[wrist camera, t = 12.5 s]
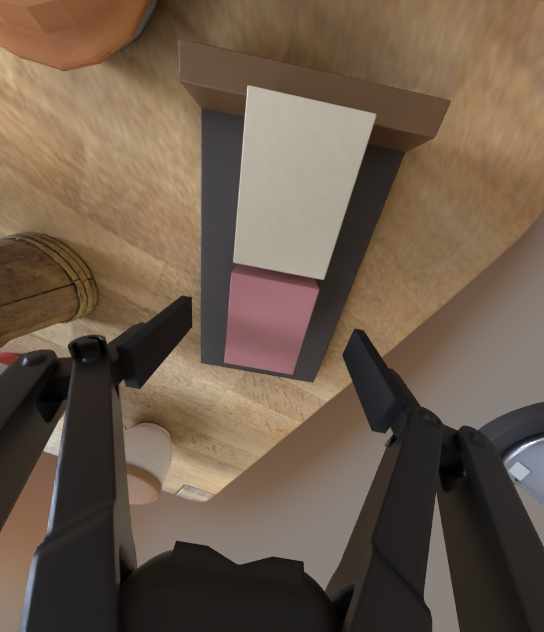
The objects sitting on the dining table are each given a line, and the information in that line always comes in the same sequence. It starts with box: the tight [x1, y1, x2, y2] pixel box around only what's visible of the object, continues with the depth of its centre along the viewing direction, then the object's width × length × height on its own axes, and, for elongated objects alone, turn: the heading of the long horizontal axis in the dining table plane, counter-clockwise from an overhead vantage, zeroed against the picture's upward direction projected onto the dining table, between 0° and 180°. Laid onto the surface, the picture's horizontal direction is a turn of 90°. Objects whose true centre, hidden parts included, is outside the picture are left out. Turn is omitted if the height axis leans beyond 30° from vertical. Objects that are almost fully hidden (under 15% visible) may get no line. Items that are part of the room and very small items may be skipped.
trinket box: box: [123, 423, 173, 504], centre depth 30 cm, size 11×11×9 cm
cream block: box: [233, 85, 377, 280], centre depth 13 cm, size 6×8×5 cm
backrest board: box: [178, 38, 451, 383], centre depth 17 cm, size 14×24×4 cm, turn 170°
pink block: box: [224, 264, 319, 375], centre depth 17 cm, size 6×8×5 cm
